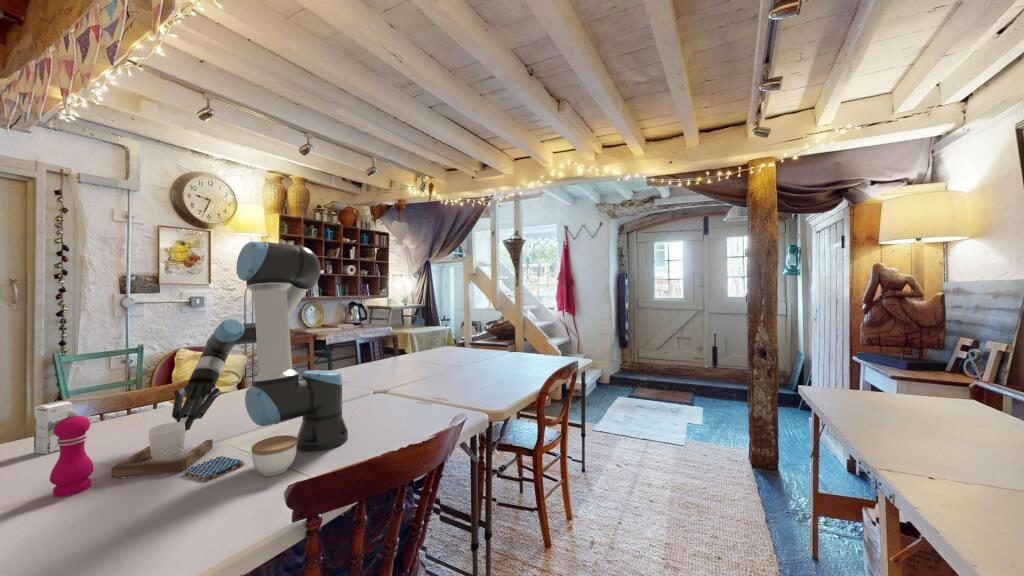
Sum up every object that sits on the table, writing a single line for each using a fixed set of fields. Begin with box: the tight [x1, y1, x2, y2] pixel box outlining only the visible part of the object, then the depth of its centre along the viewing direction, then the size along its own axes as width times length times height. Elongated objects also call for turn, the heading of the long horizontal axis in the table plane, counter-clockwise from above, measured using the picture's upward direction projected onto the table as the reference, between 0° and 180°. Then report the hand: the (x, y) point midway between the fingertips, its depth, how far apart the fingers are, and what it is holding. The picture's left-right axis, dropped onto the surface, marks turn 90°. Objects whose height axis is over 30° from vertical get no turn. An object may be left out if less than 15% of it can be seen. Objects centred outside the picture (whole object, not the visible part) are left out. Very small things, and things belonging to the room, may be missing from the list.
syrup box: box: [33, 400, 73, 455], centre depth 119 cm, size 6×6×14 cm
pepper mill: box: [49, 409, 95, 498], centre depth 95 cm, size 7×7×20 cm
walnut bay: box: [110, 438, 214, 480], centre depth 110 cm, size 16×16×3 cm
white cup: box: [148, 421, 186, 462], centre depth 110 cm, size 8×8×10 cm
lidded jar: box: [251, 435, 298, 477], centre depth 105 cm, size 11×11×9 cm
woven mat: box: [182, 455, 246, 482], centre depth 105 cm, size 10×11×2 cm
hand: (176, 440), depth 115 cm, fingers closed
